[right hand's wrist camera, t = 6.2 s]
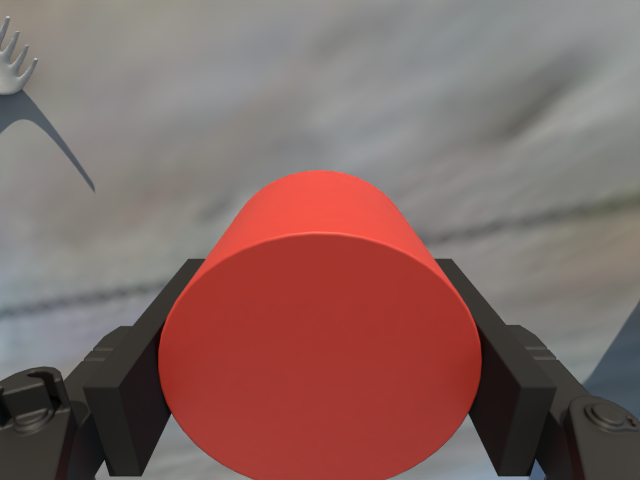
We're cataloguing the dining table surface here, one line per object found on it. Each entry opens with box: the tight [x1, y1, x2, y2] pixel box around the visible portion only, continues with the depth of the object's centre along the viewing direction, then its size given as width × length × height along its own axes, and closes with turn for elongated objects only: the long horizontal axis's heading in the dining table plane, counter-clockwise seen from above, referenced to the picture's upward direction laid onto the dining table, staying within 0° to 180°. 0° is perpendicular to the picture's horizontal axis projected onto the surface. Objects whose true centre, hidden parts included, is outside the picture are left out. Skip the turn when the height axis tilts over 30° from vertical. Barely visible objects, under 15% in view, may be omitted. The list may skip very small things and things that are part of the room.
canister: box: [158, 170, 482, 480], centre depth 13 cm, size 8×8×8 cm
